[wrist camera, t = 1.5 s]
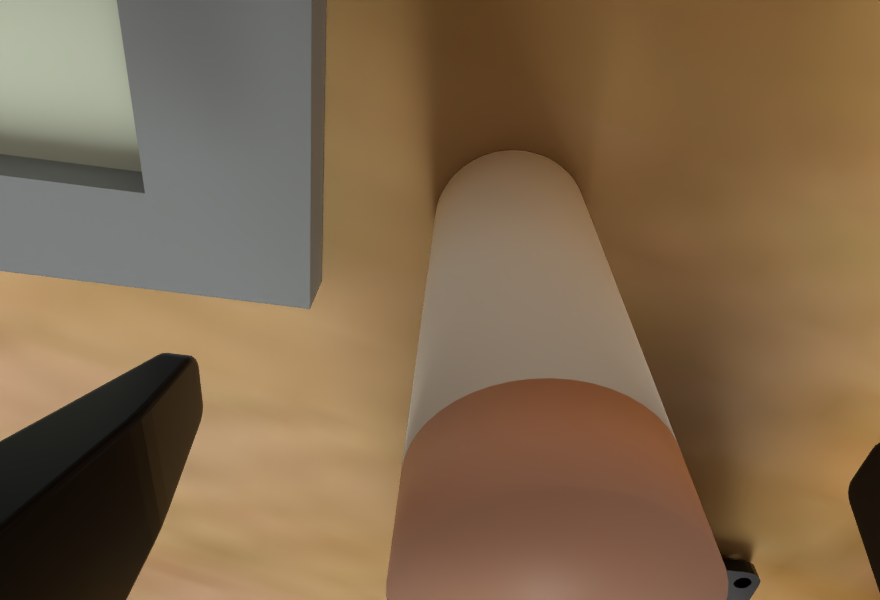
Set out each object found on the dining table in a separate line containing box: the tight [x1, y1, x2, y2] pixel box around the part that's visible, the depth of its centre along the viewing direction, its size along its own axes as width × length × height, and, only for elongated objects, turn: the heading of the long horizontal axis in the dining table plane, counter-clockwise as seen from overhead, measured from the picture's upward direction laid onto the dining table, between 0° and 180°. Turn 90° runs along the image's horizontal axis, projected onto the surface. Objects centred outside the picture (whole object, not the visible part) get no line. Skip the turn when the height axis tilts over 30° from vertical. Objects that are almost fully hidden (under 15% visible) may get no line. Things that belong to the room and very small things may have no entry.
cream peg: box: [386, 150, 728, 600], centre depth 10 cm, size 3×3×9 cm
